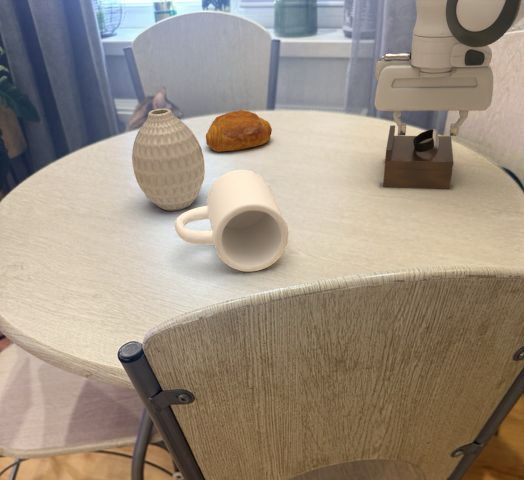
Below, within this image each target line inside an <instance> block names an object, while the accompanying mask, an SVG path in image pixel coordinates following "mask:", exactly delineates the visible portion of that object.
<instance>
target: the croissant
mask: <svg viewBox="0 0 524 480" xmlns="http://www.w3.org/2000/svg"><path fill="white" fill-rule="evenodd" d="M272 131H273V128H272V125H271V124H270V122H269V121H268V120H265V119H264V118H263V117H260V116H259V115H258V114H257V113H256V112H251V111H249V110H241V109H240V110H233V111H230V112H226V113H223V114H221V115H218V116H216V117H215V118H214V120H213V121H212V122H211V124H210V126H209V127H208V130H207V132H206V134H205V142H206V145H207V146H208V147H209V148H210V149H211V150H212V151H214V152H217V153H219V152H221V153H222V152H231V151H238V150H245V149H249V148H255V147H258V146H261V145H264V144H266V143H267V142H268V141H270V139H271V135H272Z"/></svg>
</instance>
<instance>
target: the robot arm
mask: <svg viewBox="0 0 524 480" xmlns="http://www.w3.org/2000/svg"><path fill="white" fill-rule="evenodd" d="M415 7H416V21H415V25H414V26H413V30H412V39H411V40H412V41H411V47H410V49H411V50H410V52H400V53H392V52H391V53H390V52H389V53H384V55H382V56H381V57H379V58H378V59H377V60H376V62H375V65H374V78H375V80H376V81H377V85H376V88H375V89H376V90H375V96H374V107H375V109H376V111H378V112H392V113H393V114H392V118H393V120H394V123H395V125H396V127H397V136H406V135H407V134H406V132H407V123H405V122H404V123H403V122H402V120H401V117H402V112H458V114H459V117H458V119H457V120H456V122H455V123H450V129H449V136H451V137H458V136H459V133H460V127H462V125H463V123H464V122H465V121H466V120H467V119H468V116H469V112H474V111H475V112H476V111H477V112H480V111H483V112H484V111H486V110H488V109H489V108H490V107H491V105H492V101H493V94H494V74H493V73H494V72H493V69H492V66H491V65H490V64H491V62H492V58H493V51H492V49H491V47H490V45H492V44H494V43H495V42H497V41H499V40H501V38H502V37H504V35H506V33H507V32H508V31H509V30H510V29H512V28H513V27H514V26H515V25H516V24H519V22H520V21H522V20H523V19H524V0H415Z"/></svg>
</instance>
